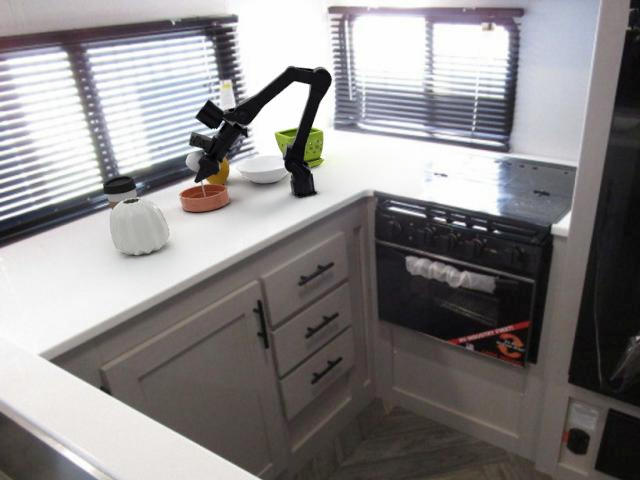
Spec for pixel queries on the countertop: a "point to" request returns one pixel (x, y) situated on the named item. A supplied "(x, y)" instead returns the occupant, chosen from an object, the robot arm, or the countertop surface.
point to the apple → (220, 174)
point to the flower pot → (311, 150)
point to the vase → (138, 226)
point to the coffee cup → (119, 189)
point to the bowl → (263, 169)
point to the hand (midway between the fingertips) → (196, 179)
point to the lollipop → (194, 163)
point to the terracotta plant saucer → (198, 203)
